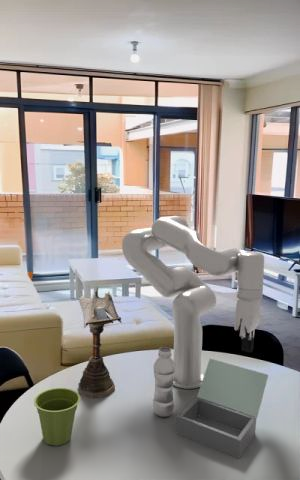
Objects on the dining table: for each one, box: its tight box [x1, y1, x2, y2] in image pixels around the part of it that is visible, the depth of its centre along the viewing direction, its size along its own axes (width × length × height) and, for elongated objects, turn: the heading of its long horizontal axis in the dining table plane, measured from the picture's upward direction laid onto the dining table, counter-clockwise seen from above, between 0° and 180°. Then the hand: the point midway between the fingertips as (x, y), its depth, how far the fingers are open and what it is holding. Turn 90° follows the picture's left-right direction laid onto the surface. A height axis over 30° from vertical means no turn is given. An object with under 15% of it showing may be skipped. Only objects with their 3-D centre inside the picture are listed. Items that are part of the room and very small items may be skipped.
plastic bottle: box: [152, 346, 175, 418], centre depth 122 cm, size 6×7×20 cm
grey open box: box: [176, 397, 257, 459], centre depth 114 cm, size 18×12×5 cm, turn 57°
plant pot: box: [33, 387, 81, 447], centre depth 110 cm, size 12×12×11 cm
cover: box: [196, 358, 269, 419], centre depth 121 cm, size 18×12×1 cm
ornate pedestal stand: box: [78, 284, 122, 399], centre depth 132 cm, size 17×13×35 cm
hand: (247, 350), depth 128 cm, fingers closed
